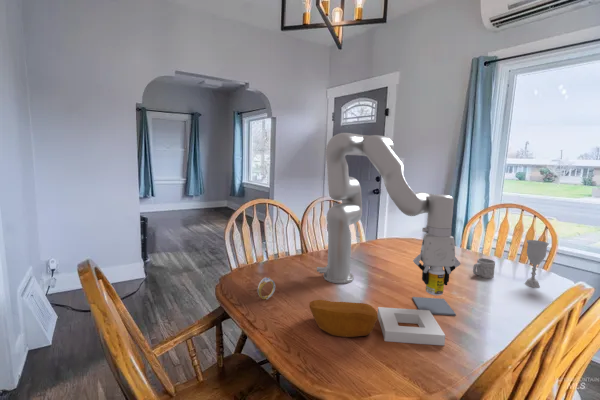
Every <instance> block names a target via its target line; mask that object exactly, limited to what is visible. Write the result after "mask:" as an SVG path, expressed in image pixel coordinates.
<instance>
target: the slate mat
mask: <svg viewBox="0 0 600 400" xmlns="http://www.w3.org/2000/svg"><path fill="white" fill-rule="evenodd" d="M411 298H412V300H413V302H414V304H415V305H416V307H417V310H430V312H431V314H432V315H436V316H437V315H440V316H452V317H453V316H454V317H455V316H456V315H457V313H456V312H455V310H454V309H453V308H452V307H451V306H450V305H449V303H448V302H447V301H446V300H445V299H444V298H441V297H440V298H434V297H423V296H422V297H421V296H412V297H411Z"/></svg>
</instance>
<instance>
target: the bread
mask: <svg viewBox="0 0 600 400" xmlns="http://www.w3.org/2000/svg"><path fill="white" fill-rule="evenodd" d="M309 309H310V312H311V314H312V316H313V319H314V321H315V323H316V325H317V326H318V328H319V329H321V330H322V331H324V332H326V333H327V334H329V335H332V336H334V337H335V336H336V337H343V338H356V337H366V336H369V334H371V333H372V332H373V330H374V328H375V325H376V322H377V320H378V310H377V309H376V308H374V307H373V306H372V305H370V304H368V303H364V302H351V301H350V302H348V301H331V300H327V299H326V300H325V299H315V300H312V301H309Z"/></svg>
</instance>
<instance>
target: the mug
mask: <svg viewBox="0 0 600 400" xmlns="http://www.w3.org/2000/svg"><path fill="white" fill-rule="evenodd" d="M495 266H496V261H495V260H493V259H490V258H484V257H480V258H477V262H476V263H475V264H473V268H472V273H473V274H474V275H477V277H481V278H484V279H486V278H487V279H492V278H494V275H495Z"/></svg>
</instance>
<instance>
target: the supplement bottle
mask: <svg viewBox="0 0 600 400" xmlns="http://www.w3.org/2000/svg"><path fill="white" fill-rule="evenodd" d="M428 273H429V277H428V284H425V291H426V293H427V294H429V295H432V296H442V295H444V288H445V285H444V277H445V271H444V267H440V266H430V267H429V269H428Z"/></svg>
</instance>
